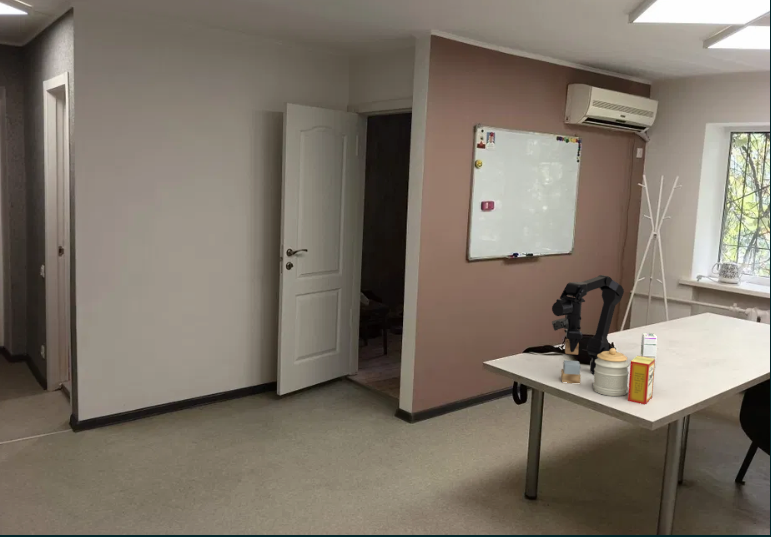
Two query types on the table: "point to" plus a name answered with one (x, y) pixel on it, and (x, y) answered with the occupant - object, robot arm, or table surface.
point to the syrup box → (649, 345)
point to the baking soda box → (641, 379)
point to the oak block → (570, 377)
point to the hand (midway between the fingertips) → (571, 350)
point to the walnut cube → (567, 348)
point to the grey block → (571, 367)
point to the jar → (611, 373)
